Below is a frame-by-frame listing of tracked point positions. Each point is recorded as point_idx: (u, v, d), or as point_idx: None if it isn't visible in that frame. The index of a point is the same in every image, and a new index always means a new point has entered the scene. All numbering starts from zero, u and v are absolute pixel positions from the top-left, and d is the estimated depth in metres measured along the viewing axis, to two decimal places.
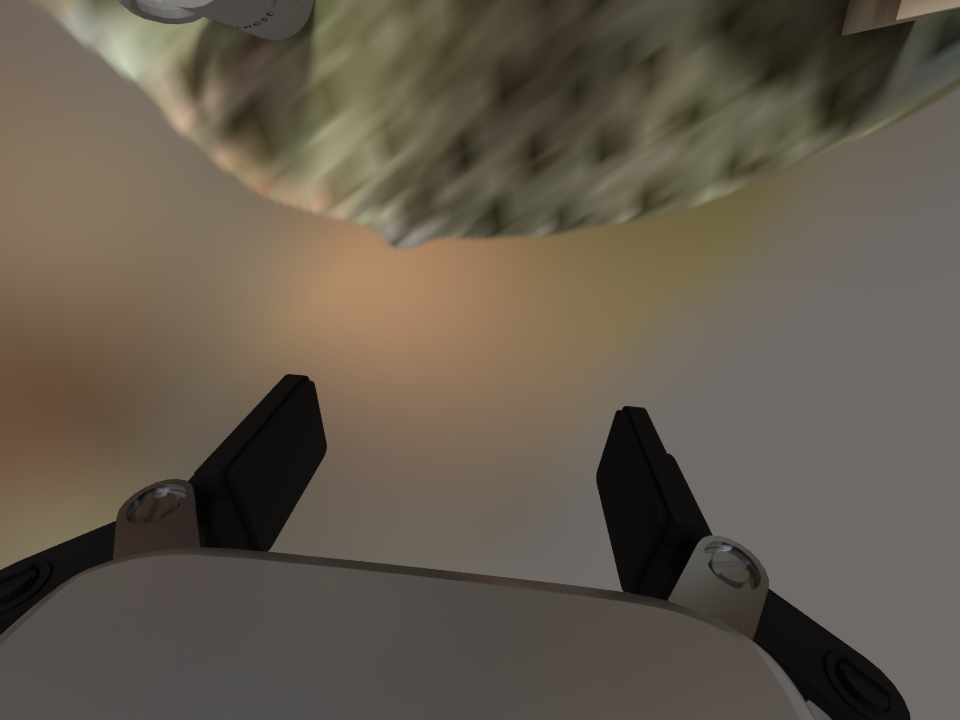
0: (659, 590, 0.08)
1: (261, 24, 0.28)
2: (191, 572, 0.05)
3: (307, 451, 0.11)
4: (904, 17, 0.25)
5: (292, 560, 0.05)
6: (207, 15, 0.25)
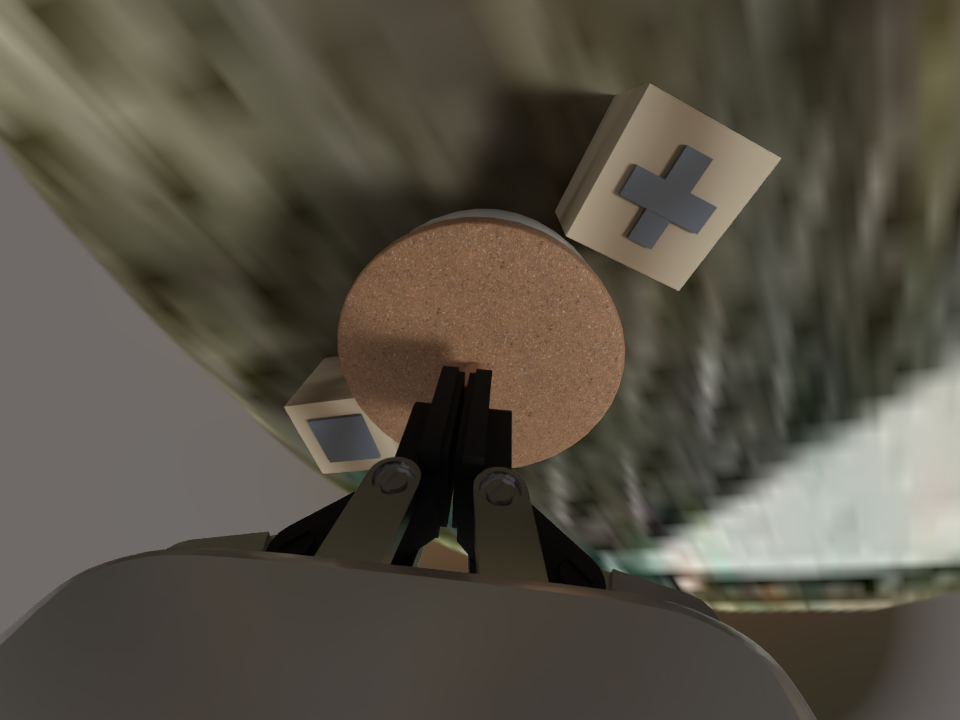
0: (458, 516, 0.09)
1: None
2: (191, 572, 0.05)
3: None
4: (289, 413, 0.20)
5: (292, 560, 0.05)
6: None
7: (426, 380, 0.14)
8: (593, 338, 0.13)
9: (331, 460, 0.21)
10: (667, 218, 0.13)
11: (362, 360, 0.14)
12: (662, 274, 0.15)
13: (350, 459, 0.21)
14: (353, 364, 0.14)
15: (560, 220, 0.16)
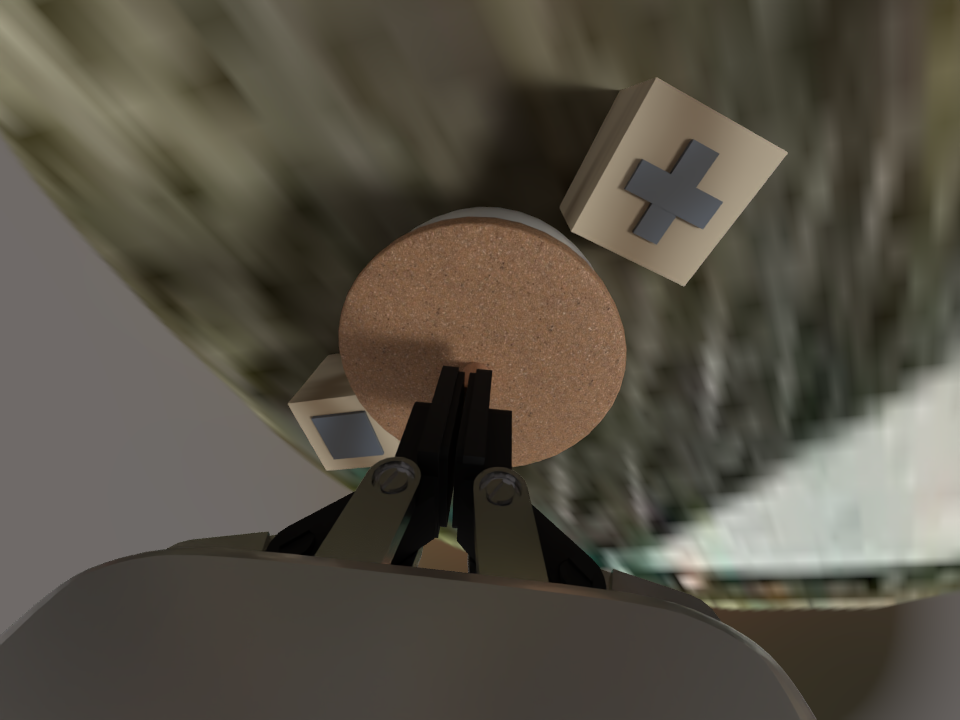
0: (458, 517, 0.09)
1: None
2: (191, 572, 0.05)
3: None
4: (293, 410, 0.20)
5: (292, 560, 0.05)
6: None
7: (426, 378, 0.14)
8: (594, 340, 0.13)
9: (335, 457, 0.21)
10: (673, 213, 0.13)
11: (363, 358, 0.14)
12: (667, 269, 0.15)
13: (354, 456, 0.21)
14: (354, 362, 0.15)
15: (565, 216, 0.16)
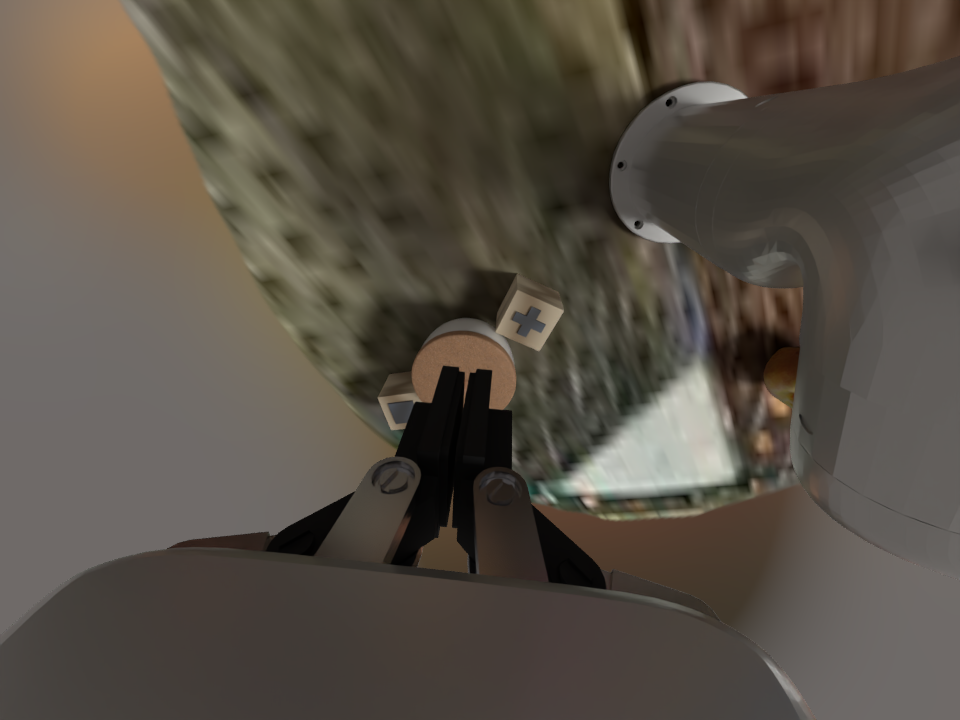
0: (458, 516, 0.09)
1: None
2: (191, 572, 0.05)
3: None
4: (379, 400, 0.44)
5: (292, 560, 0.05)
6: None
7: None
8: (503, 370, 0.37)
9: (396, 422, 0.46)
10: (529, 327, 0.38)
11: (420, 378, 0.39)
12: (532, 345, 0.39)
13: (405, 422, 0.45)
14: (417, 379, 0.39)
15: (496, 321, 0.41)
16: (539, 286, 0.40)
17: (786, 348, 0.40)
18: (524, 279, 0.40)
